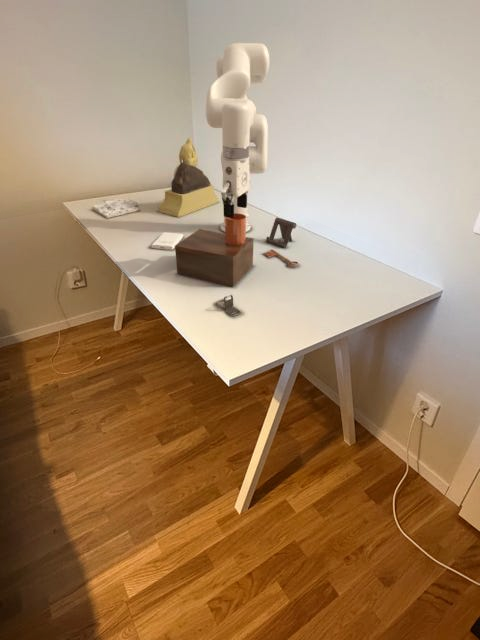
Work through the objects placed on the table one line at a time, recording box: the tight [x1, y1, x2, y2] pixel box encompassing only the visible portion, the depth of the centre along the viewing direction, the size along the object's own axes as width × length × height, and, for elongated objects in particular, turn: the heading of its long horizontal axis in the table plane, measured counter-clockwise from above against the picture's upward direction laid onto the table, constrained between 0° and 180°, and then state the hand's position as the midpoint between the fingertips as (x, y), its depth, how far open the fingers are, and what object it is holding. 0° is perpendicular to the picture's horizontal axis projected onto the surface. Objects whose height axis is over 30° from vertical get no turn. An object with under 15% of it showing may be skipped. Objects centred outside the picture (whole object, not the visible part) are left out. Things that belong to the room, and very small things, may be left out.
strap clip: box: [215, 294, 241, 317], centre depth 107 cm, size 8×3×4 cm, turn 37°
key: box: [263, 249, 299, 268], centre depth 135 cm, size 6×1×15 cm
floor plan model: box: [92, 197, 140, 219], centre depth 181 cm, size 19×25×2 cm
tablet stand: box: [265, 217, 297, 249], centre depth 146 cm, size 9×8×8 cm
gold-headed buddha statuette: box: [157, 137, 219, 218], centre depth 175 cm, size 28×13×30 cm, turn 144°
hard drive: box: [151, 231, 184, 251], centre depth 146 cm, size 2×8×12 cm
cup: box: [224, 213, 247, 245], centre depth 121 cm, size 6×6×8 cm
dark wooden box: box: [174, 228, 255, 288], centre depth 125 cm, size 16×20×10 cm
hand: (235, 211), depth 118 cm, fingers open, 9 cm apart
